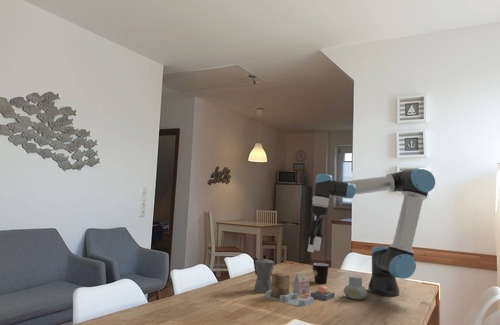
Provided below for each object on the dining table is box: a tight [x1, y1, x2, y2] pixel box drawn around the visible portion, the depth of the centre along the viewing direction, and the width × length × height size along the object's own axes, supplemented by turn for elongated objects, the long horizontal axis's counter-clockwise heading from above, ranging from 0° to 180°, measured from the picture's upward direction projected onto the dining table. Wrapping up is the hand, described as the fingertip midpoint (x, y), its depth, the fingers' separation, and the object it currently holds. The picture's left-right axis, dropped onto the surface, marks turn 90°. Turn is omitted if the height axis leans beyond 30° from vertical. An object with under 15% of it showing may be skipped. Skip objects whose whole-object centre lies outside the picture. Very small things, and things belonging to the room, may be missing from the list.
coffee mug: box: [312, 262, 330, 285], centre depth 206 cm, size 12×9×10 cm
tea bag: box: [292, 273, 310, 296], centre depth 176 cm, size 4×7×10 cm, turn 125°
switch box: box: [310, 289, 336, 301], centre depth 170 cm, size 8×8×3 cm
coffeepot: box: [253, 254, 275, 294], centre depth 179 cm, size 15×9×18 cm, turn 33°
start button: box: [318, 285, 328, 294], centre depth 170 cm, size 4×4×4 cm
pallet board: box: [263, 290, 317, 308], centre depth 164 cm, size 21×12×3 cm, turn 52°
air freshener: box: [343, 275, 368, 301], centre depth 175 cm, size 11×8×10 cm
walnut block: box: [271, 272, 290, 298], centre depth 167 cm, size 7×4×10 cm, turn 52°
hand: (313, 251), depth 171 cm, fingers open, 13 cm apart
